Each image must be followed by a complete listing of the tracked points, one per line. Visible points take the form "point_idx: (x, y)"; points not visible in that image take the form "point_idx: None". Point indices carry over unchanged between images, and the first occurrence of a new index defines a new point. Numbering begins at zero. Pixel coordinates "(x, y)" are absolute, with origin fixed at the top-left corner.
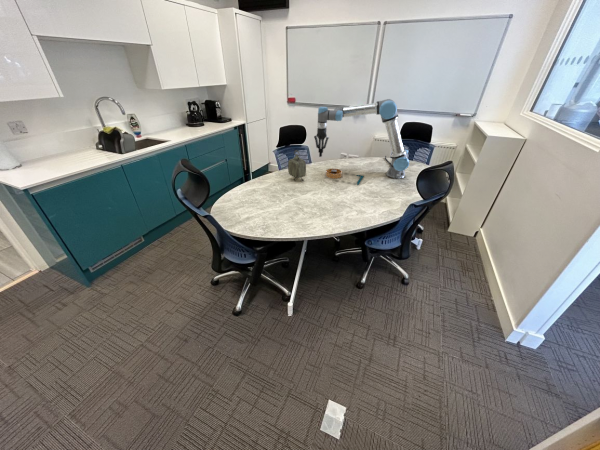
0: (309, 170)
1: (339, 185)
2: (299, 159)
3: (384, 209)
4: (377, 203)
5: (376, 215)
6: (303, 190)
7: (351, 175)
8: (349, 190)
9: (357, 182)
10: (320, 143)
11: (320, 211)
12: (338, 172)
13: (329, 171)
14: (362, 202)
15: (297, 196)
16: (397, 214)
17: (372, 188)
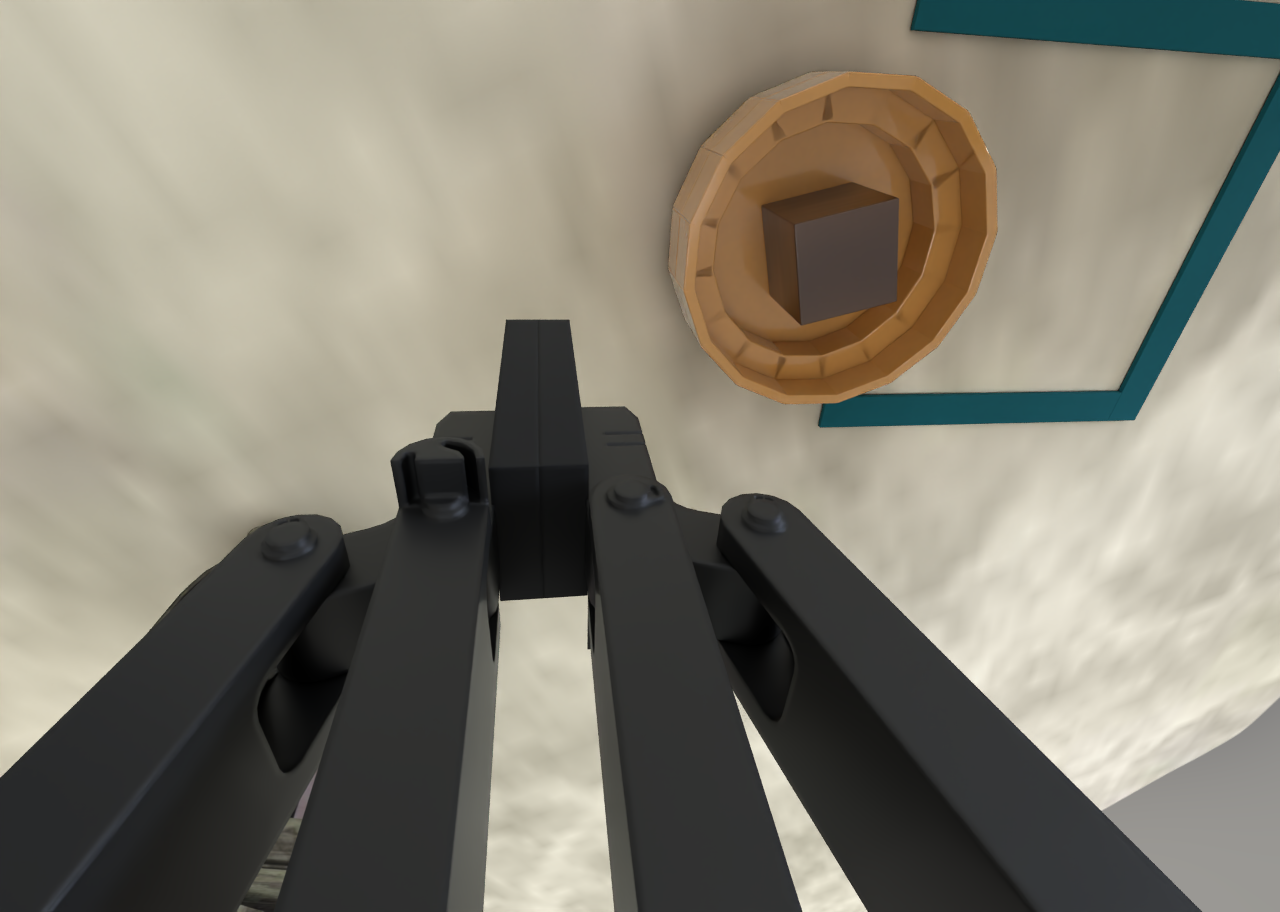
0: (238, 112)
1: (903, 514)
2: (268, 901)
3: (1195, 710)
4: (1181, 667)
5: (1115, 774)
6: (567, 735)
7: (1126, 64)
8: (1002, 574)
9: (1144, 357)
10: (473, 819)
11: (789, 861)
12: (907, 147)
13: (729, 180)
14: (1072, 697)
15: (570, 814)
16: (1249, 723)
17: (1265, 439)
